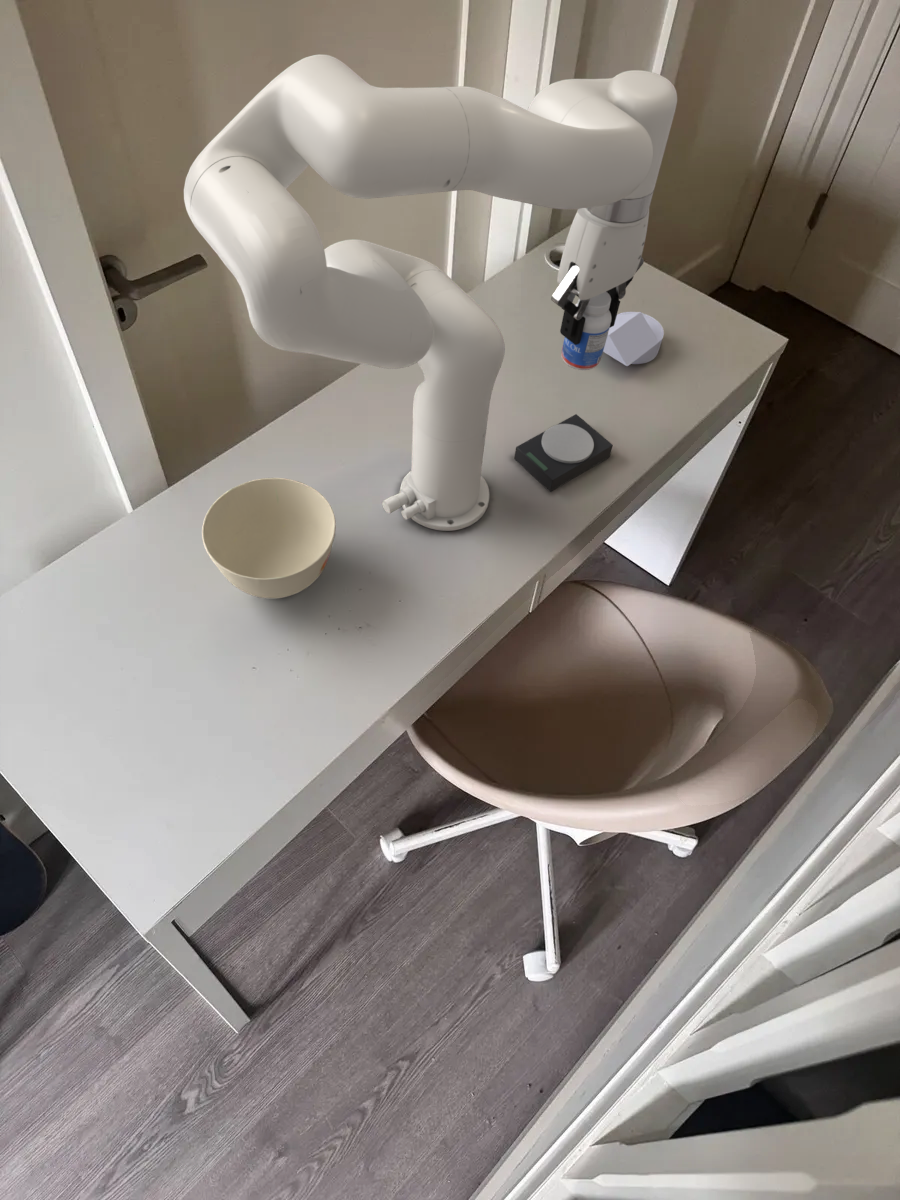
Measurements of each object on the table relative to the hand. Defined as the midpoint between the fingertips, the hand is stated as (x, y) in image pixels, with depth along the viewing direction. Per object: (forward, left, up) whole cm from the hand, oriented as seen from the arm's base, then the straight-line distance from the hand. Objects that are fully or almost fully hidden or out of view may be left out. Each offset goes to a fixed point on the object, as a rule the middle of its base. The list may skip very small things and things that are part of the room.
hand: (587, 328), depth 112 cm
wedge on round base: (+23, +10, -21) cm, 33 cm away
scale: (-2, -2, -21) cm, 21 cm away
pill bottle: (0, 0, -5) cm, 5 cm away
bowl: (-47, +4, -21) cm, 52 cm away
